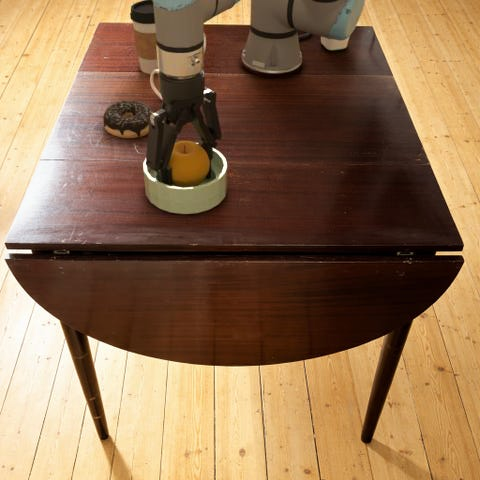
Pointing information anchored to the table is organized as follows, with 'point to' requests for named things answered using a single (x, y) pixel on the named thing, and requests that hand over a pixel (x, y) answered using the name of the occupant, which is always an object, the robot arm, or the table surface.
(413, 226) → the table surface
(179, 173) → the apple
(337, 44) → the cup
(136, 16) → the coffee cup
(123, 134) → the donut
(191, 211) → the serving bowl
